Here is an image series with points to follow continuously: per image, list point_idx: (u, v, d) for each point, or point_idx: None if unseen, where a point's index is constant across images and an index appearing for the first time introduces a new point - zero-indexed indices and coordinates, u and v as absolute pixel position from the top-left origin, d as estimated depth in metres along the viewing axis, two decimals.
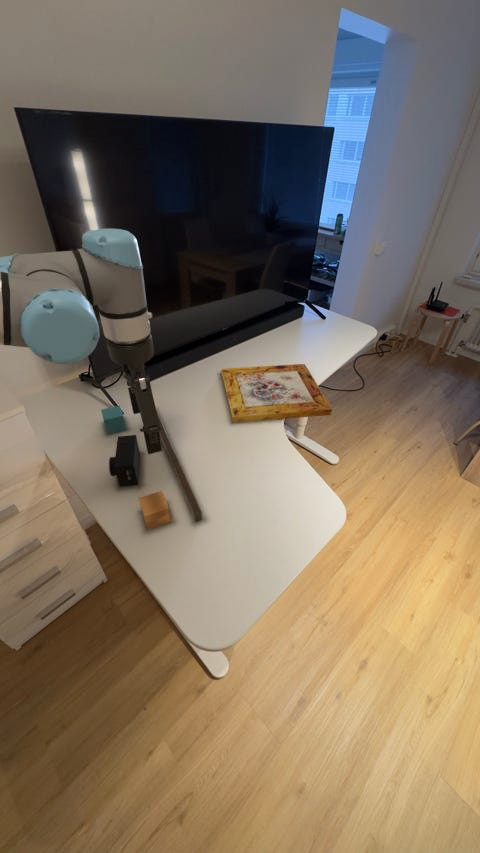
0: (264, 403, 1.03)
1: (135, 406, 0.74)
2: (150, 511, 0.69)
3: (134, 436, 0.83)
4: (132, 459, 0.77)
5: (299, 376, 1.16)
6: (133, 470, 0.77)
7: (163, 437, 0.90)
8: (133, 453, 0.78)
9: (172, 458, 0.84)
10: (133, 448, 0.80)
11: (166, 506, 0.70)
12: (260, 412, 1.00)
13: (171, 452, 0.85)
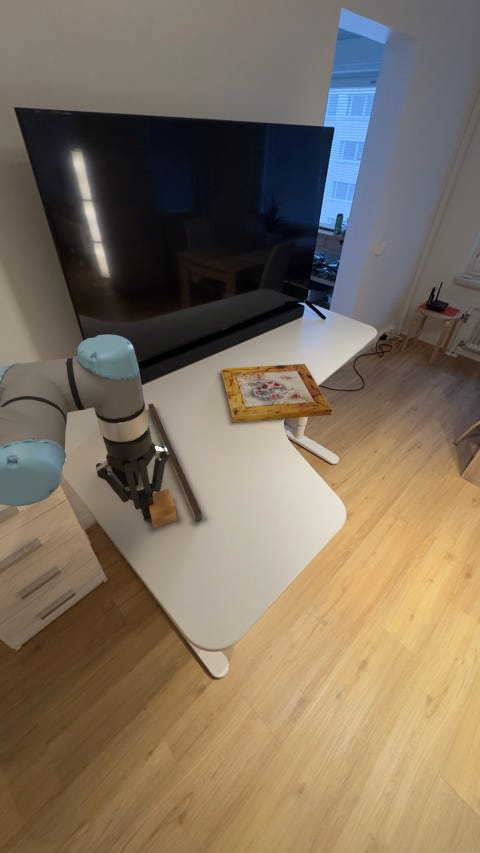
0: (264, 403, 1.03)
1: None
2: (156, 508, 0.69)
3: None
4: None
5: (299, 375, 1.16)
6: None
7: (163, 437, 0.90)
8: None
9: (172, 458, 0.84)
10: None
11: (172, 504, 0.70)
12: (260, 412, 1.00)
13: (171, 452, 0.85)
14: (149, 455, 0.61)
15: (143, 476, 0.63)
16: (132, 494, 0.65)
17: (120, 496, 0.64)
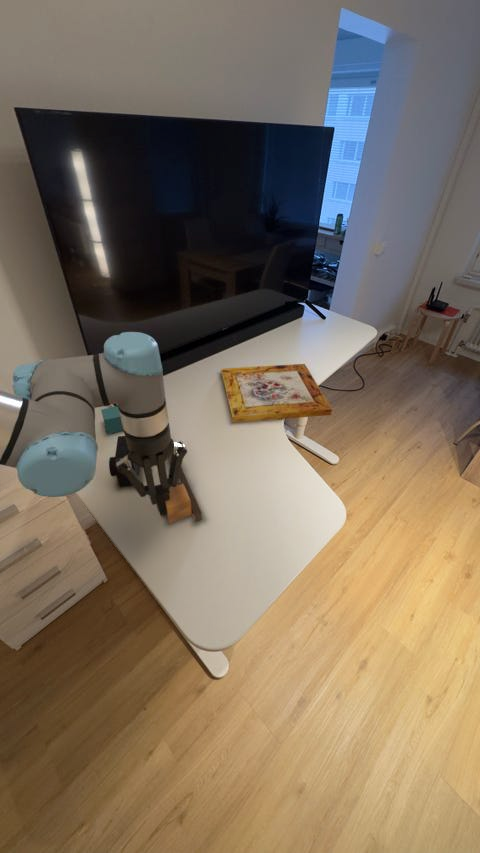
0: (264, 403, 1.03)
1: None
2: (172, 503, 0.70)
3: None
4: None
5: (299, 375, 1.16)
6: None
7: None
8: None
9: None
10: None
11: (188, 499, 0.71)
12: (260, 412, 1.00)
13: (171, 452, 0.85)
14: (168, 450, 0.62)
15: (161, 471, 0.64)
16: (150, 489, 0.66)
17: (138, 491, 0.65)
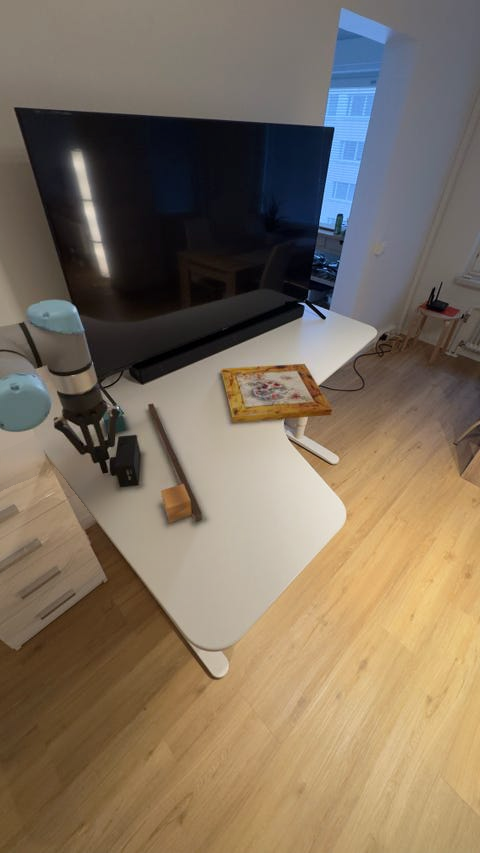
0: (264, 403, 1.03)
1: None
2: (172, 503, 0.70)
3: (134, 436, 0.83)
4: (132, 459, 0.77)
5: (299, 375, 1.16)
6: (133, 470, 0.77)
7: (163, 437, 0.90)
8: (133, 453, 0.78)
9: (172, 458, 0.84)
10: (133, 448, 0.80)
11: (188, 499, 0.71)
12: (260, 412, 1.00)
13: (171, 452, 0.85)
14: (100, 411, 0.69)
15: (97, 430, 0.72)
16: (88, 447, 0.73)
17: (77, 448, 0.72)
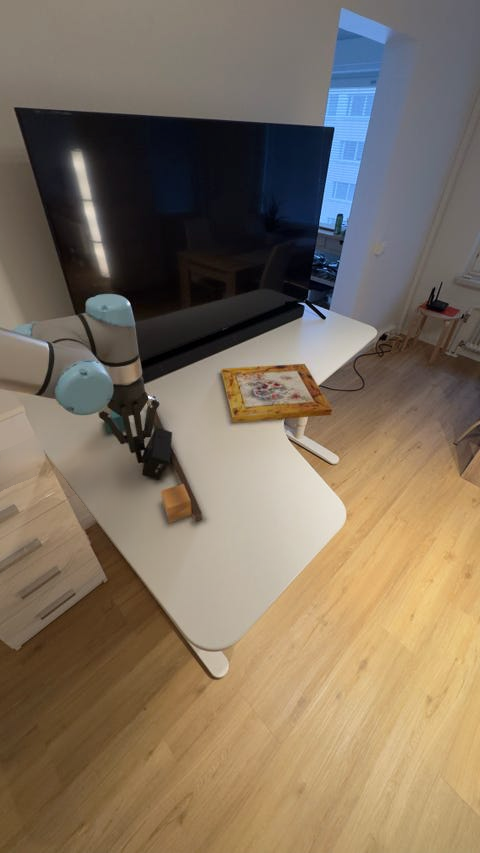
0: (264, 403, 1.03)
1: None
2: (172, 503, 0.70)
3: (170, 433, 0.85)
4: (168, 455, 0.79)
5: (299, 375, 1.16)
6: (165, 466, 0.79)
7: None
8: (169, 450, 0.81)
9: (172, 458, 0.84)
10: (170, 445, 0.82)
11: (188, 499, 0.71)
12: (260, 412, 1.00)
13: (171, 452, 0.85)
14: (142, 401, 0.73)
15: (137, 421, 0.75)
16: (128, 437, 0.76)
17: (118, 438, 0.75)
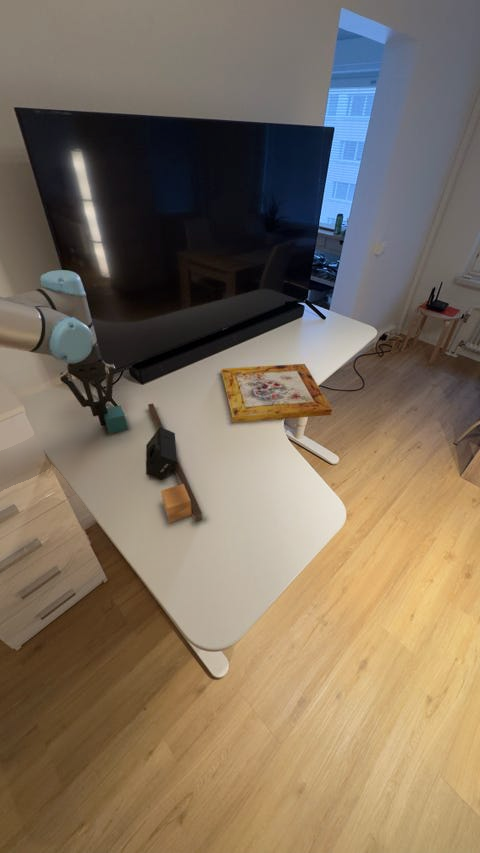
0: (264, 403, 1.03)
1: None
2: (172, 503, 0.70)
3: (173, 434, 0.86)
4: (175, 456, 0.80)
5: (299, 375, 1.16)
6: (172, 466, 0.79)
7: None
8: (175, 450, 0.81)
9: None
10: (175, 445, 0.83)
11: (188, 499, 0.71)
12: (260, 412, 1.00)
13: None
14: (99, 367, 0.83)
15: (96, 385, 0.85)
16: (89, 401, 0.87)
17: (79, 401, 0.86)
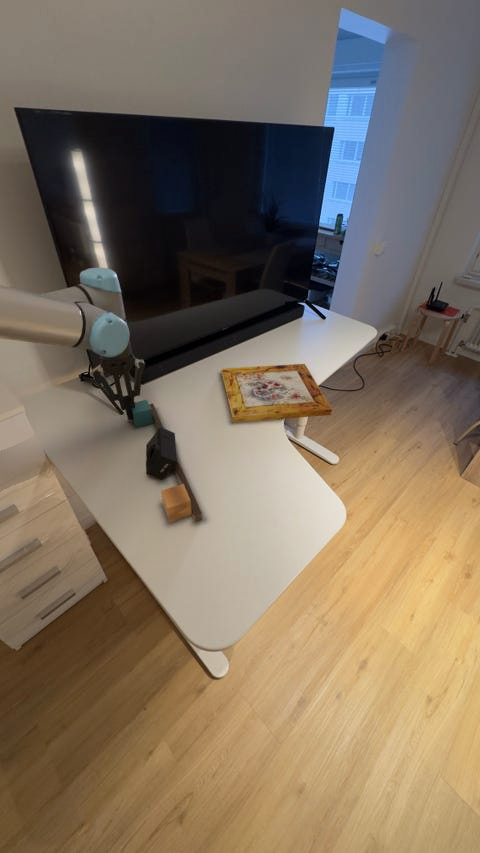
0: (264, 403, 1.03)
1: None
2: (172, 503, 0.70)
3: (173, 434, 0.86)
4: (175, 456, 0.80)
5: (299, 375, 1.16)
6: (172, 466, 0.79)
7: None
8: (175, 450, 0.81)
9: None
10: (175, 445, 0.83)
11: (188, 499, 0.71)
12: (260, 412, 1.00)
13: None
14: (130, 362, 0.85)
15: (126, 380, 0.88)
16: (118, 395, 0.89)
17: (110, 395, 0.88)
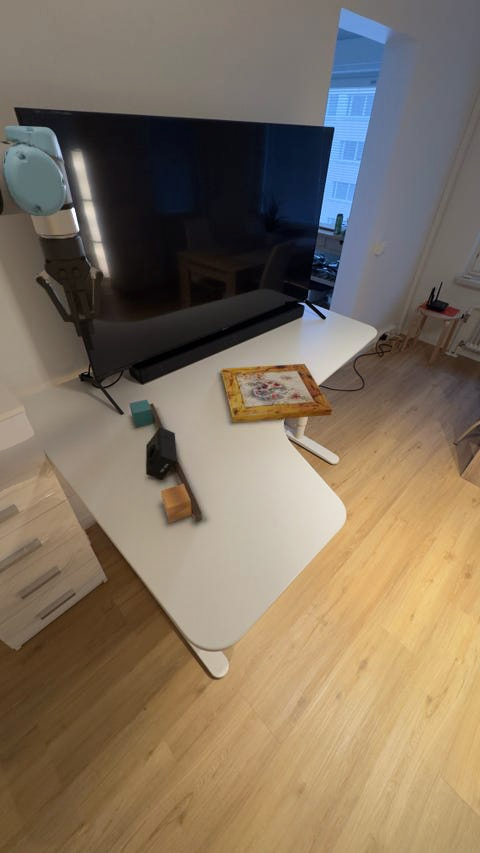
0: (264, 403, 1.03)
1: None
2: (172, 503, 0.70)
3: (173, 434, 0.86)
4: (175, 456, 0.80)
5: (299, 376, 1.16)
6: (172, 466, 0.79)
7: None
8: (175, 450, 0.81)
9: None
10: (175, 445, 0.83)
11: (188, 499, 0.71)
12: (260, 412, 1.00)
13: None
14: (84, 269, 0.69)
15: (80, 294, 0.71)
16: (72, 314, 0.73)
17: (60, 313, 0.72)
